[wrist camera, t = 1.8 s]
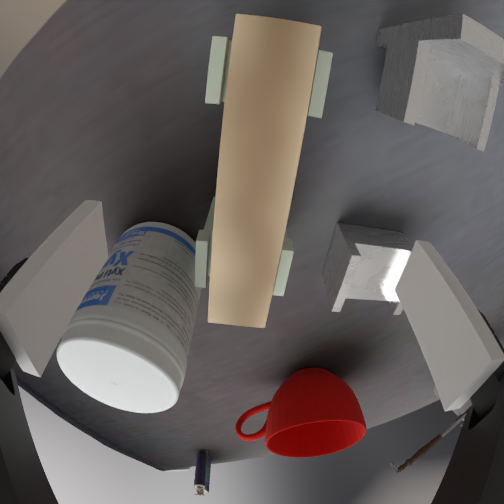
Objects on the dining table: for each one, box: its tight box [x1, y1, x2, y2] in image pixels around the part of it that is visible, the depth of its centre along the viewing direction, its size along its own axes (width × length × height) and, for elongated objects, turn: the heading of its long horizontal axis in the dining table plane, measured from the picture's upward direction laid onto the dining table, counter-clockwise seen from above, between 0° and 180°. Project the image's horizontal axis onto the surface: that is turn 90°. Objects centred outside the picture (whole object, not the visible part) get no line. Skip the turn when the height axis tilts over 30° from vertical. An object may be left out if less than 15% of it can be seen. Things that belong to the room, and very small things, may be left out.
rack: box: [195, 36, 333, 296], centre depth 22 cm, size 7×17×8 cm, turn 173°
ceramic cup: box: [236, 368, 366, 457], centre depth 38 cm, size 13×17×10 cm
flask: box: [194, 450, 211, 496], centre depth 57 cm, size 9×3×11 cm, turn 0°
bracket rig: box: [322, 14, 504, 315], centre depth 20 cm, size 7×24×12 cm, turn 173°
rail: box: [208, 14, 321, 328], centre depth 18 cm, size 4×19×4 cm, turn 173°
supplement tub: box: [57, 222, 202, 413], centre depth 25 cm, size 10×10×15 cm
